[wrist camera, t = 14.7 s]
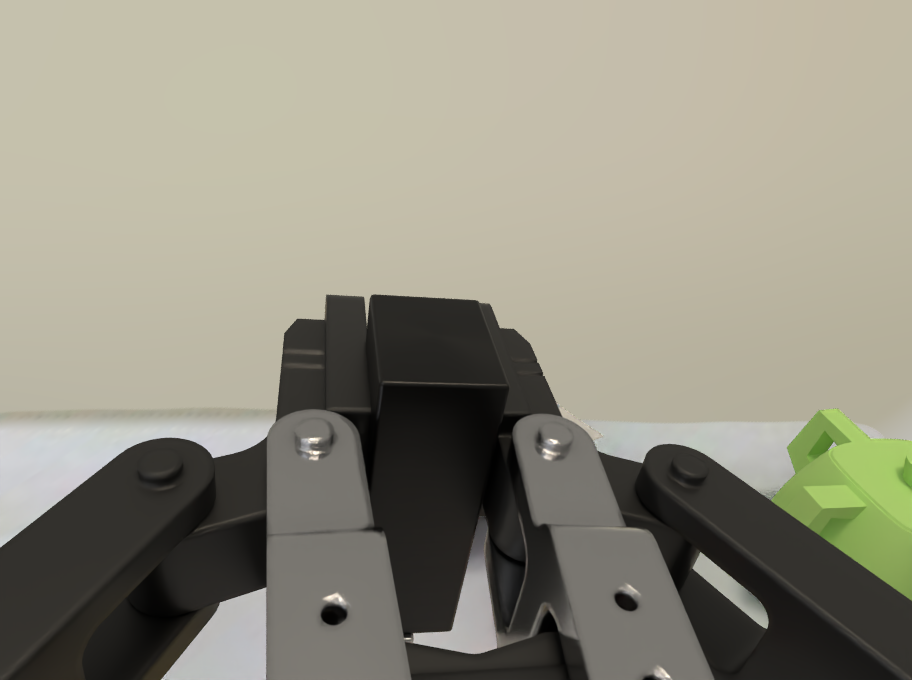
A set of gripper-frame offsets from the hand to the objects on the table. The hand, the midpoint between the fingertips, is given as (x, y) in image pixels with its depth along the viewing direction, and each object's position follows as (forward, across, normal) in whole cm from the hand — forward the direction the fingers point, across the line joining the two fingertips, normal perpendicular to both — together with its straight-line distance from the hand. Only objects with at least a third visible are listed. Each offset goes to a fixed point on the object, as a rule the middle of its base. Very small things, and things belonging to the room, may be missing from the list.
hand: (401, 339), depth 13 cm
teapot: (+10, -30, +23) cm, 39 cm away
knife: (-3, 0, +12) cm, 12 cm away
